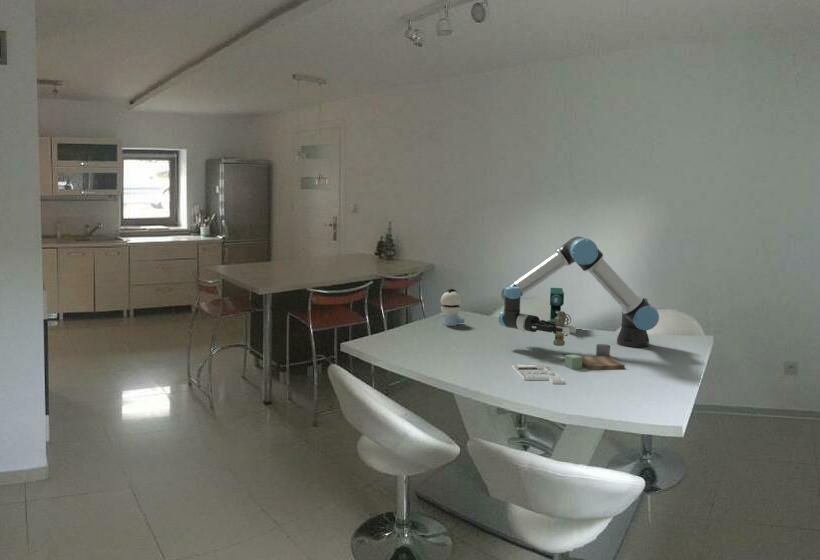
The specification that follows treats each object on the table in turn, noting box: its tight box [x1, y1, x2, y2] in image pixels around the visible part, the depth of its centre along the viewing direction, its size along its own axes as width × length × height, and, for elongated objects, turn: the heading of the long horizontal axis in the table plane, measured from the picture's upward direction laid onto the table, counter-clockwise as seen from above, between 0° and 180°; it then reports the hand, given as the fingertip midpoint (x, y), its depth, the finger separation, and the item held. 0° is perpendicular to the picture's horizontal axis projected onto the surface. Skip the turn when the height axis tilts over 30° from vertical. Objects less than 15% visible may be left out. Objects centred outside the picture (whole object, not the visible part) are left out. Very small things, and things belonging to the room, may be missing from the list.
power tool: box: [549, 287, 565, 322], centre depth 369 cm, size 32×7×20 cm, turn 168°
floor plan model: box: [511, 363, 566, 385], centre depth 276 cm, size 15×25×2 cm, turn 5°
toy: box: [439, 288, 465, 327], centre depth 375 cm, size 16×13×20 cm
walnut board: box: [581, 355, 625, 371], centre depth 294 cm, size 16×16×2 cm
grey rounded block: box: [595, 343, 611, 357], centre depth 309 cm, size 6×6×5 cm
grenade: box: [553, 310, 572, 347], centre depth 302 cm, size 7×7×15 cm
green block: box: [564, 353, 583, 370], centre depth 288 cm, size 5×5×5 cm
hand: (572, 330), depth 298 cm, fingers closed on grenade, 4 cm apart
